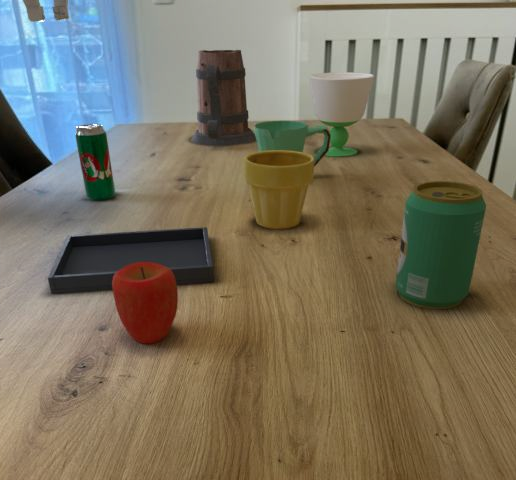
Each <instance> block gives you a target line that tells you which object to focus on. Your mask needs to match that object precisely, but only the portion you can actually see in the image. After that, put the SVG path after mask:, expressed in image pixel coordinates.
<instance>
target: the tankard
mask: <svg viewBox="0 0 516 480" xmlns="http://www.w3.org/2000/svg"><path fill="white" fill-rule="evenodd" d="M246 74H247V73H246V68H245V66H244V61H243V55H242V50H241V49H213V50H207V49H206V50H205V49H203V50H198V51H197V64H196V69H195V78H196V83H197V84H196V86H197V87H196V90H197V91H196V92H197V112H196V120H197V123H198V124H197V125H198V126H197V127H198V129H196V130H195V132H194V134H193V136H192V137H191V139H190V141H191V142H192V143H193V144H198V145H204V146H216V147H217V146H218V147H219V146H221V147H223V146H238V145H244V144H248V143H252V142H254V141H257V140H256V136H255V133H254V131H253V130H252V128H250V127H249V116H250V115H249V110H248V107H247V106H248V105H247V92H246V91H247V89H246Z"/></svg>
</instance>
